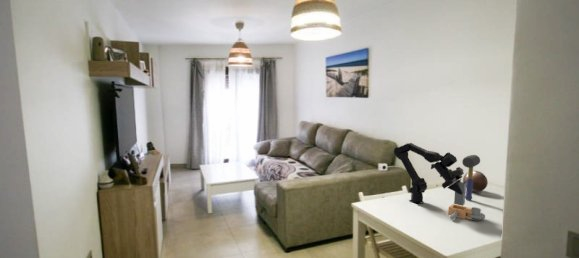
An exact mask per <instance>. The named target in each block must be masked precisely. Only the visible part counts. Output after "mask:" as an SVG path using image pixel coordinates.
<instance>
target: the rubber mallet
mask: <svg viewBox="0 0 579 258" xmlns="http://www.w3.org/2000/svg"><path fill="white" fill-rule="evenodd" d="M480 162H481V159H480V157H479V156H478V155H476V154H471V155H467V156H465V157H464V158H463V159H462V165H463V166H464V167H465V168H468V172H467V173H468V179H467V183H466V192H465V201H472V200H473V195H472V194H473V192H472V188H473V179H472V178H473V171H474V167H476V166H478V165H479V164H481V163H480Z"/></svg>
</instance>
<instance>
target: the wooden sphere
mask: <svg viewBox="0 0 579 258" xmlns="http://www.w3.org/2000/svg"><path fill="white" fill-rule="evenodd" d="M462 178H463V179H462V182H463V183H467V179H468V172H466V173H465V174H464V176H463V177H462ZM472 179H473V188H472V193H473V192H474V193H479V192H482V191H484V190H485V189H486V188H487V187H488V183H489V181H488V178H487V176H486V175H485V174H484V173H483V172H482V171H479V170H473V178H472Z"/></svg>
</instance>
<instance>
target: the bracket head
mask: <svg viewBox="0 0 579 258" xmlns="http://www.w3.org/2000/svg"><path fill="white" fill-rule="evenodd" d="M447 211H448V213H447V214H448V216H449V218H450V220H452V221H454V219H456V218H460V219H462V220H463V219H464V220H466V219H467V220H468V219H469V220H472V221H475V222H476V221H477V222H478V221H479V222H480V221H481V220H485V219H486V214H484V213H482V212H481V211H482V209H481V208H479V207H474V206H473V207H468V206H464V205H463V206H462V205H458V204H454V203H452V204H451V205H449V206H448V209H447Z"/></svg>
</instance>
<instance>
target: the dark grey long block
mask: <svg viewBox="0 0 579 258" xmlns="http://www.w3.org/2000/svg"><path fill="white" fill-rule="evenodd" d="M457 186H458V187H459V189H460V190H461V192H462V194H461V195H460V194H459V193H457V192H455V191H454V201H453V204H456V205H460V206H464V205H465V203H466V198H465V196H466V183H463V181H461V182H457Z"/></svg>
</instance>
